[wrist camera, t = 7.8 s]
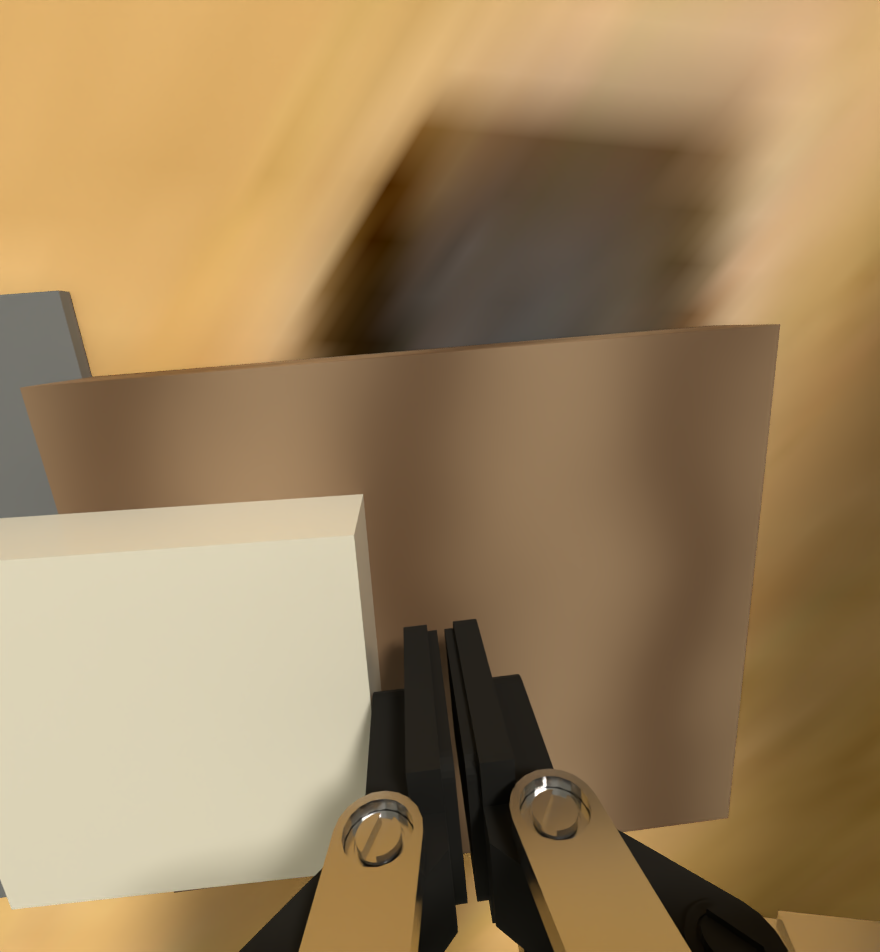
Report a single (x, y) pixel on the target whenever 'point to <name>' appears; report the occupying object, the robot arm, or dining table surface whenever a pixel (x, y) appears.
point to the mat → (27, 364)
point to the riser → (498, 518)
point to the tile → (181, 695)
